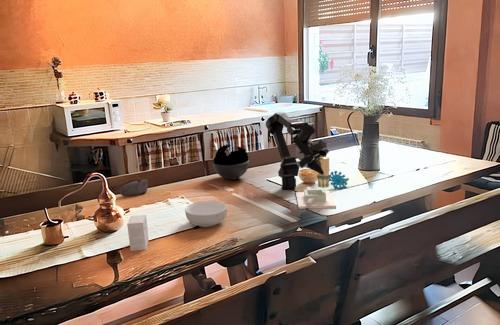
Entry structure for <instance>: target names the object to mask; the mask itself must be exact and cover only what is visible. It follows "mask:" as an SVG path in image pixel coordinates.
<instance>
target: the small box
mask: <svg viewBox="0 0 500 325" xmlns="http://www.w3.org/2000/svg"><path fill="white" fill-rule="evenodd" d="M147 220H148V219H147V214H141V215H139V214H138V215H131V216H130V217H129V220H128V222H127V224H126V225H127V233H128V240H129V246H130V247H129V250H130V252H136V251H146V250H147V249H148V244H149V240H150V239H149V230H148V229H149V228H148V221H147Z"/></svg>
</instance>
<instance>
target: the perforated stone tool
mask: <svg viewBox="0 0 500 325" xmlns="http://www.w3.org/2000/svg"><path fill="white" fill-rule="evenodd" d="M148 188H149V180H148V179H146V178H145V179H139V180H135V181H131V182H129V183H125V184H124V185H122V186H120V188H119V195H121V196H123V197H130V196H137V195H141V194H145V193H147V192H148Z"/></svg>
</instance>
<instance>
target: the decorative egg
mask: <svg viewBox="0 0 500 325" xmlns="http://www.w3.org/2000/svg"><path fill="white" fill-rule="evenodd" d="M308 141H309V142H310V143H314V142H313V140H311V138H310V139H309V140H308ZM299 152H300V150H299V148H298V147H297V146H296V147H295V155H296V157H297V159H298V160H299V162H300V161H301V160H302V159H303V158H304V157H305V156H304V155H303V153H302V154H300V153H299Z"/></svg>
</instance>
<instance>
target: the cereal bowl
mask: <svg viewBox="0 0 500 325" xmlns="http://www.w3.org/2000/svg"><path fill="white" fill-rule="evenodd" d="M184 211H185V217H186V219H187V221H188V222H190V223H191V224H193V225H195V226H198V227H201V228H211V227H214V226H217V225H218V224H220V223H221V222H222V221H224V220H225V219H226V217H227V213H228V206H227V204H226V203H224V202H221V201H215V200H202V201H196V202H193V203H190V204H188V205H187V206H186V207H185V210H184Z"/></svg>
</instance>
